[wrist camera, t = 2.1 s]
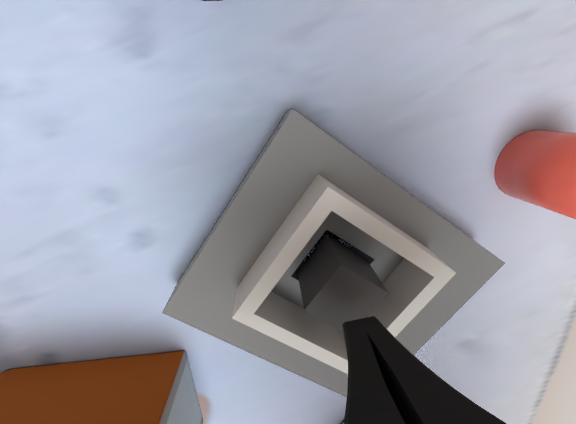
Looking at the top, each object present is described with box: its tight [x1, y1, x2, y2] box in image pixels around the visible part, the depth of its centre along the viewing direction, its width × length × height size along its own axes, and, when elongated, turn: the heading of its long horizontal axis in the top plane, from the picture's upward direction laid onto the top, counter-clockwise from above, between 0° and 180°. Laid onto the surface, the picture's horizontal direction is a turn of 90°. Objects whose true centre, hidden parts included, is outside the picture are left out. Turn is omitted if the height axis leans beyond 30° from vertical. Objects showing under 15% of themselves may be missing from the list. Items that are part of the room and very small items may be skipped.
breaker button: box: [297, 234, 389, 331], centre depth 16 cm, size 3×3×4 cm
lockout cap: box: [494, 130, 576, 219], centre depth 17 cm, size 4×4×5 cm
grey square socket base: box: [162, 109, 505, 397], centre depth 18 cm, size 16×14×6 cm
